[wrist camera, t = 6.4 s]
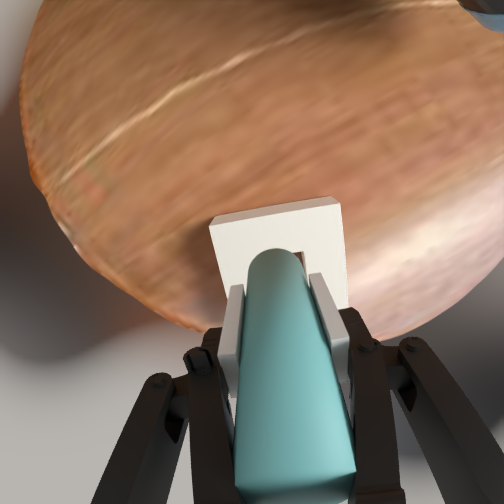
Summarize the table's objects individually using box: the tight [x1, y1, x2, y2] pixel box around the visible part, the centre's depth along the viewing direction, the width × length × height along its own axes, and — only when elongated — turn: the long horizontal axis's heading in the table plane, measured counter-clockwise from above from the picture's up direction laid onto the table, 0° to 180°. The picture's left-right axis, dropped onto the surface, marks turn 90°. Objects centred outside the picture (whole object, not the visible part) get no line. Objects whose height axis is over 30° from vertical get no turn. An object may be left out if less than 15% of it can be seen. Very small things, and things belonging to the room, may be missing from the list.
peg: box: [232, 248, 356, 504], centre depth 14 cm, size 4×4×16 cm
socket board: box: [209, 196, 348, 310], centre depth 40 cm, size 16×16×5 cm
